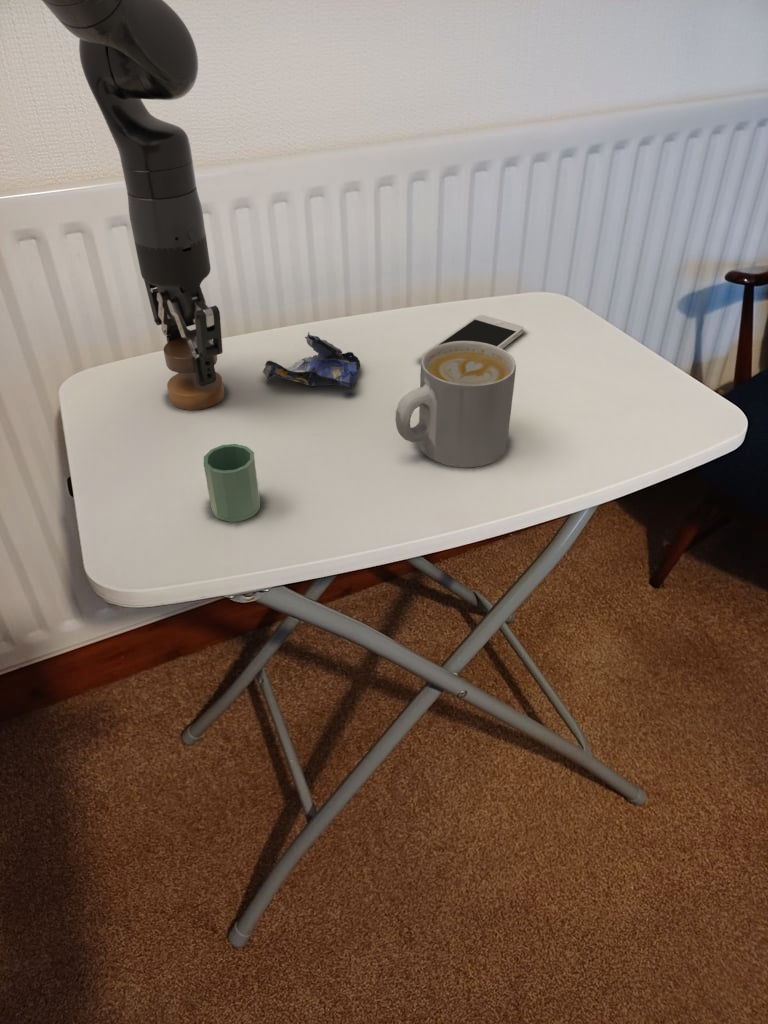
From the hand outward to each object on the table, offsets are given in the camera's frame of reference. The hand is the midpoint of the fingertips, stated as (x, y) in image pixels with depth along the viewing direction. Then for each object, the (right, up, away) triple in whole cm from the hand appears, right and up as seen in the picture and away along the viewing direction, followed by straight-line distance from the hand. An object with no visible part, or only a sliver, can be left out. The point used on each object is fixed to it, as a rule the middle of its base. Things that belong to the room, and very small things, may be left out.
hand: (193, 372), depth 94 cm
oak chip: (0, -3, +2) cm, 3 cm away
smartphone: (+35, +5, +12) cm, 38 cm away
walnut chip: (0, +1, -1) cm, 1 cm away
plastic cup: (+8, -16, -15) cm, 24 cm away
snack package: (+14, 0, +5) cm, 15 cm away
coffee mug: (+30, -9, -6) cm, 32 cm away
